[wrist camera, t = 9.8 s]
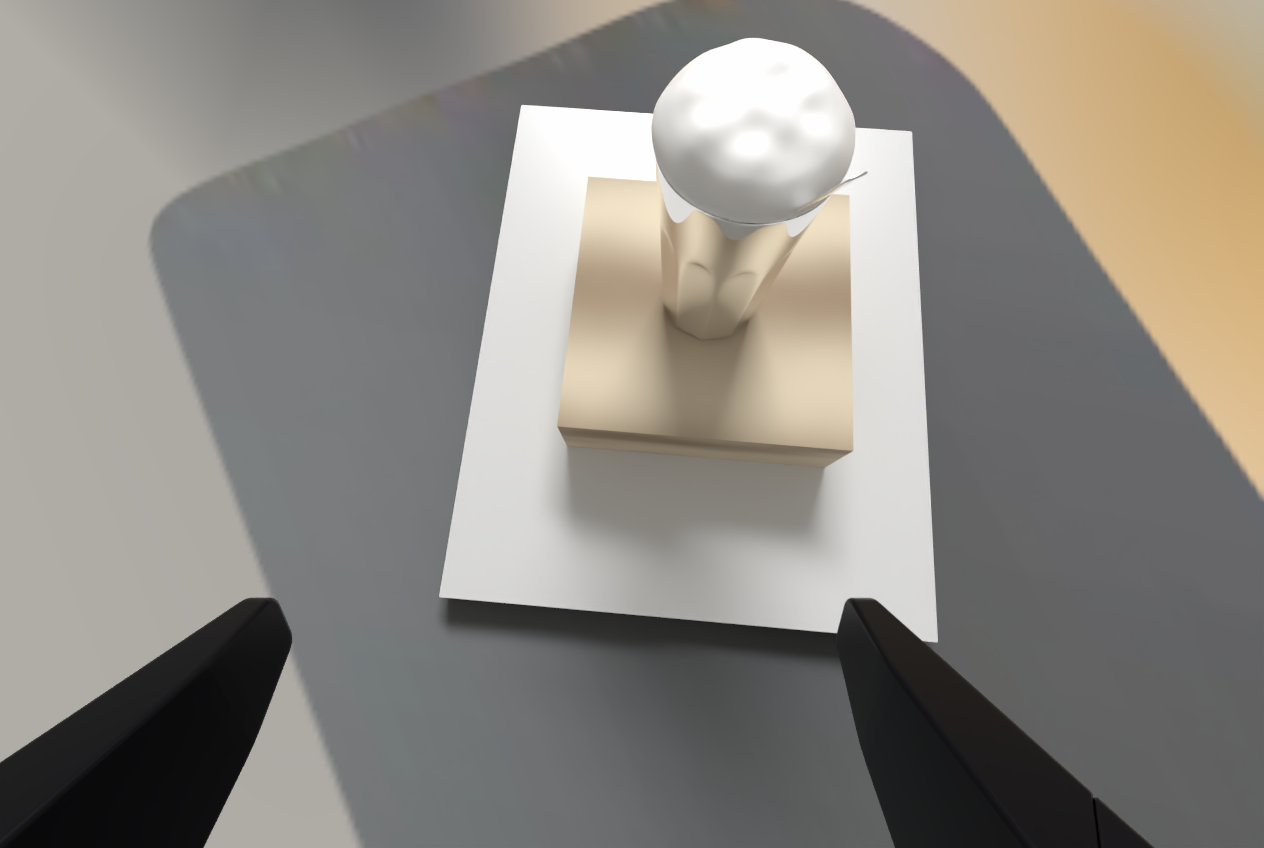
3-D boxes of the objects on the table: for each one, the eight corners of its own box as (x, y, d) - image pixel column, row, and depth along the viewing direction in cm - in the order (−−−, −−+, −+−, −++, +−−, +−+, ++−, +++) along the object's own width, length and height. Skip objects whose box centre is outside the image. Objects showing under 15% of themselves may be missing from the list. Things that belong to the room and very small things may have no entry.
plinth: (824, 467, 22) (853, 450, 19) (567, 446, 22) (557, 426, 19) (824, 240, 25) (849, 194, 22) (593, 223, 25) (588, 176, 22)
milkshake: (690, 399, 20) (745, 224, 10) (624, 272, 21) (616, 10, 11) (805, 346, 20) (964, 131, 10) (734, 226, 21) (817, -64, 12)
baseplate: (923, 639, 21) (937, 642, 20) (447, 596, 22) (439, 597, 21) (901, 147, 27) (911, 131, 26) (525, 121, 28) (521, 104, 27)
